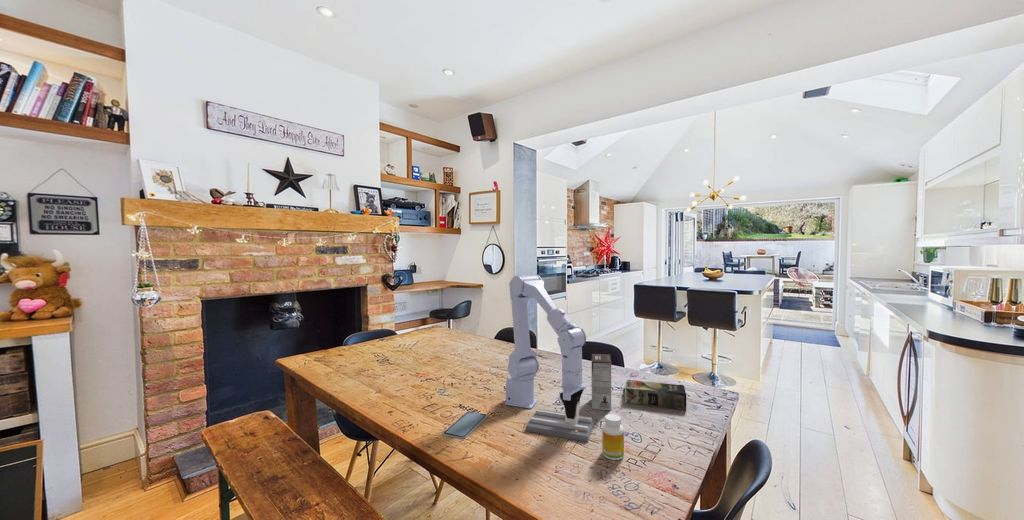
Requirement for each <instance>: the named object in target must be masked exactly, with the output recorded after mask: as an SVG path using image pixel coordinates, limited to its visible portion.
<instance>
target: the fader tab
mask: <svg viewBox="0 0 1024 520" xmlns="http://www.w3.org/2000/svg"><path fill="white" fill-rule="evenodd" d="M564 413H565V423H570V424H576V425H577V423H578V421H579V415H580V402H579V401H578V403H577V407H576V414H575V418H574V419H569V418H567V416H566V412H565V411H564Z"/></svg>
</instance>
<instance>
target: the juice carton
mask: <svg viewBox="0 0 1024 520" xmlns="http://www.w3.org/2000/svg"><path fill="white" fill-rule="evenodd" d="M622 394H623V395H624V403H625V404H630V405H637V406H647V407H653V408H660V409H662V408H663V409H669V410H670V409H671V410H677V411H683V412H684V411H685V412H686V411H687V392H686V387H685V385H683V384H674V383H664V382H656V381H655V382H654V381H645V380H636V379H635V380H634V379H626V381H625V387H623V388H622Z"/></svg>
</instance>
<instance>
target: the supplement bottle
mask: <svg viewBox="0 0 1024 520" xmlns="http://www.w3.org/2000/svg"><path fill="white" fill-rule="evenodd" d="M601 434H602V435H601V453H602V455H603V456H604V457H605V458H607V459H609V460H612V461H619V460H622V459H623V458H625V457H624V456H625V428H624V427H623V425H622V417H621V416H620V415H618V414H614V413H608V414H606V415H605V416H604V423H603V424H602V427H601Z"/></svg>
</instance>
